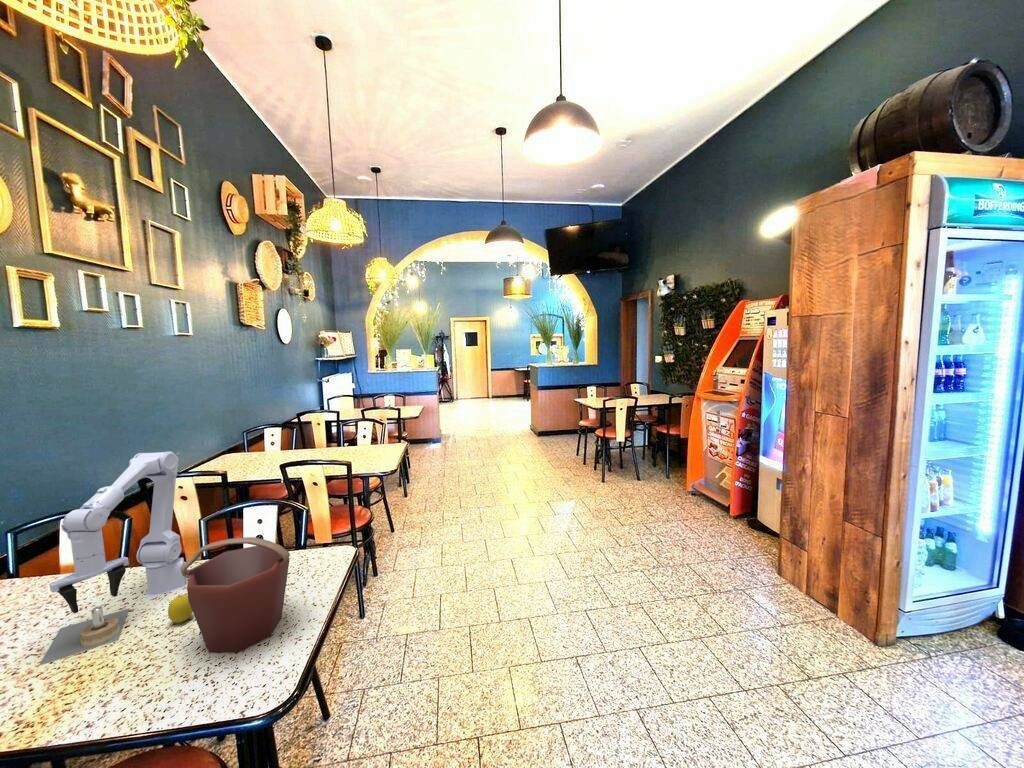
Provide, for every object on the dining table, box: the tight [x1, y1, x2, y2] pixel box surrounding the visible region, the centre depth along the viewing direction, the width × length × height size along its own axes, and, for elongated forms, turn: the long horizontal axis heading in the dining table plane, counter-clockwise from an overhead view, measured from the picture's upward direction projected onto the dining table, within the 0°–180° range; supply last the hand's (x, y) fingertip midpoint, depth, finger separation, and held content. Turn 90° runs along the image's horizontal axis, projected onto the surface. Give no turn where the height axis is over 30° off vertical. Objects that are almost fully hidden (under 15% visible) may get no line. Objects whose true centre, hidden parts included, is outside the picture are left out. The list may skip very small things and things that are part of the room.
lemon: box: [167, 594, 193, 624], centre depth 114 cm, size 6×6×8 cm
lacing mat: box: [38, 607, 130, 666], centre depth 109 cm, size 14×17×1 cm
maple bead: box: [80, 618, 120, 647], centre depth 108 cm, size 7×7×3 cm
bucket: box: [181, 536, 291, 654], centre depth 109 cm, size 24×22×25 cm
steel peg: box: [90, 605, 105, 631], centre depth 108 cm, size 2×2×8 cm
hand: (95, 603), depth 108 cm, fingers open, 7 cm apart
